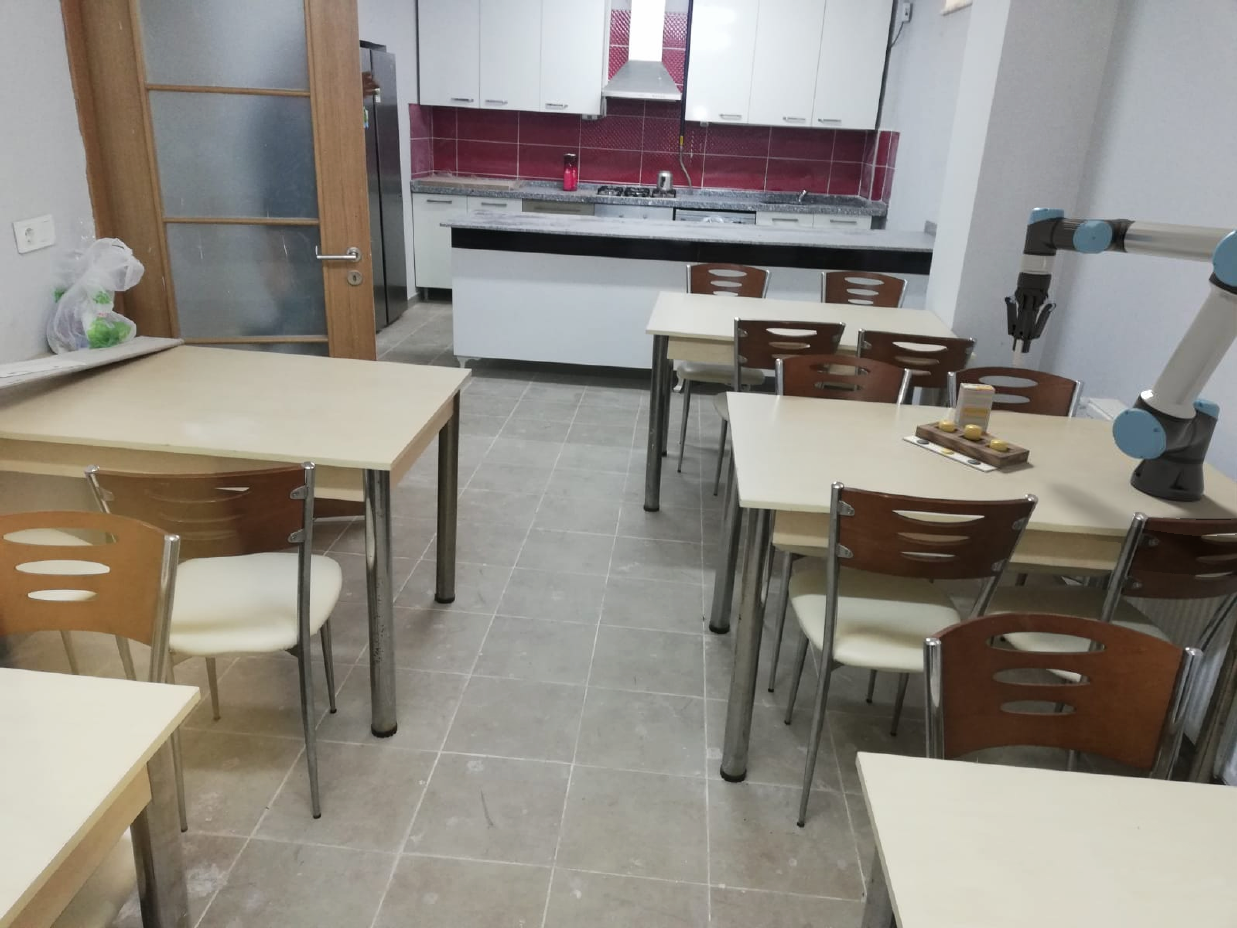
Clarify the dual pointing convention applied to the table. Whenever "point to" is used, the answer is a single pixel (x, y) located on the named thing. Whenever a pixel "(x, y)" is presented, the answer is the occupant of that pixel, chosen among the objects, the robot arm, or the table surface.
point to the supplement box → (974, 405)
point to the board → (972, 445)
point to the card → (950, 453)
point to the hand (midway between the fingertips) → (1017, 364)
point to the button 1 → (947, 426)
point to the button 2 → (998, 445)
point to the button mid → (972, 432)
